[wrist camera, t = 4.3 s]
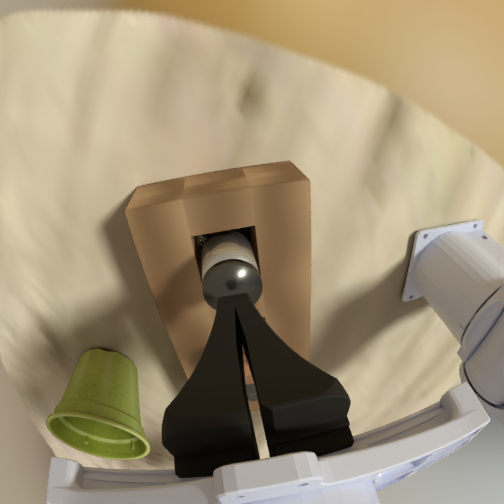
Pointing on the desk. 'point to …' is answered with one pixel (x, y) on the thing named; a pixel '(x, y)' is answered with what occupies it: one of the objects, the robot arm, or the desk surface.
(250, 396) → the plug
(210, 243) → the plug
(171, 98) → the desk surface
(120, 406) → the plant pot
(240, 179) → the socket block
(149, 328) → the desk surface
